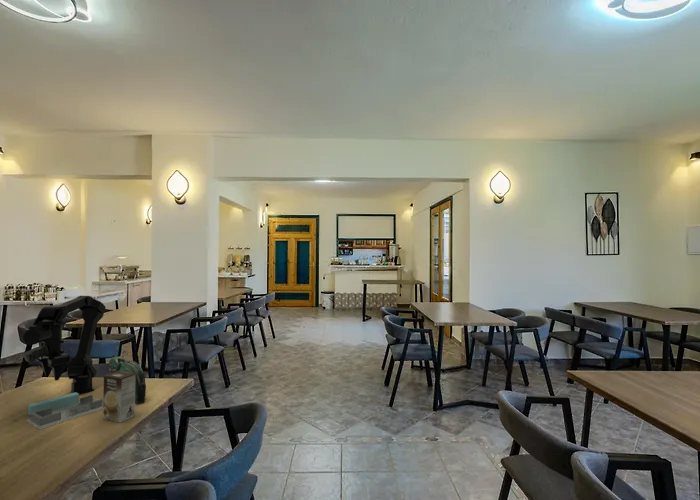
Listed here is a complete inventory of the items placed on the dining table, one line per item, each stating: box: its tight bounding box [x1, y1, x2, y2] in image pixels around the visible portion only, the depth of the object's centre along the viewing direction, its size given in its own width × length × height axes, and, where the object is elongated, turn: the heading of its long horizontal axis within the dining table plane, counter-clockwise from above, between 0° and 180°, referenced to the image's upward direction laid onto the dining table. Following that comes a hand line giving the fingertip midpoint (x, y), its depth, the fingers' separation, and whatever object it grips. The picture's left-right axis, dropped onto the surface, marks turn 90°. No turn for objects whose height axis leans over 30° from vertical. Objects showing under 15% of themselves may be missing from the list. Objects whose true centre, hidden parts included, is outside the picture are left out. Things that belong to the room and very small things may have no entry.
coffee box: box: [102, 370, 136, 424], centre depth 132 cm, size 9×6×16 cm
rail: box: [27, 392, 80, 417], centre depth 139 cm, size 15×4×4 cm, turn 145°
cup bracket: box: [26, 394, 103, 430], centre depth 134 cm, size 22×11×3 cm, turn 149°
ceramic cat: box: [108, 350, 147, 405], centre depth 149 cm, size 20×6×20 cm, turn 63°
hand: (52, 378), depth 139 cm, fingers open, 9 cm apart
